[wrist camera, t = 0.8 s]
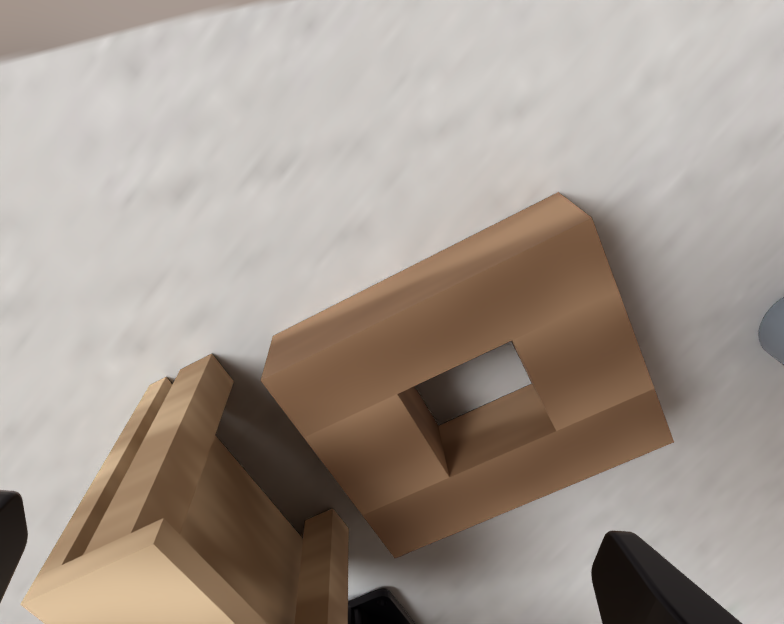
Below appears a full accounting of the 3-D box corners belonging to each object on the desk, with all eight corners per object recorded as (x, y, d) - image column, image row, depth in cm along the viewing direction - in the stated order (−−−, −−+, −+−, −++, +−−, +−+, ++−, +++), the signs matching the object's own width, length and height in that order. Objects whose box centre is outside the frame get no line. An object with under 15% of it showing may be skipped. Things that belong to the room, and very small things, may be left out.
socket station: (639, 402, 25) (797, 606, 16) (294, 551, 27) (265, 796, 18) (553, 179, 20) (708, 291, 11) (149, 385, 23) (20, 604, 14)
